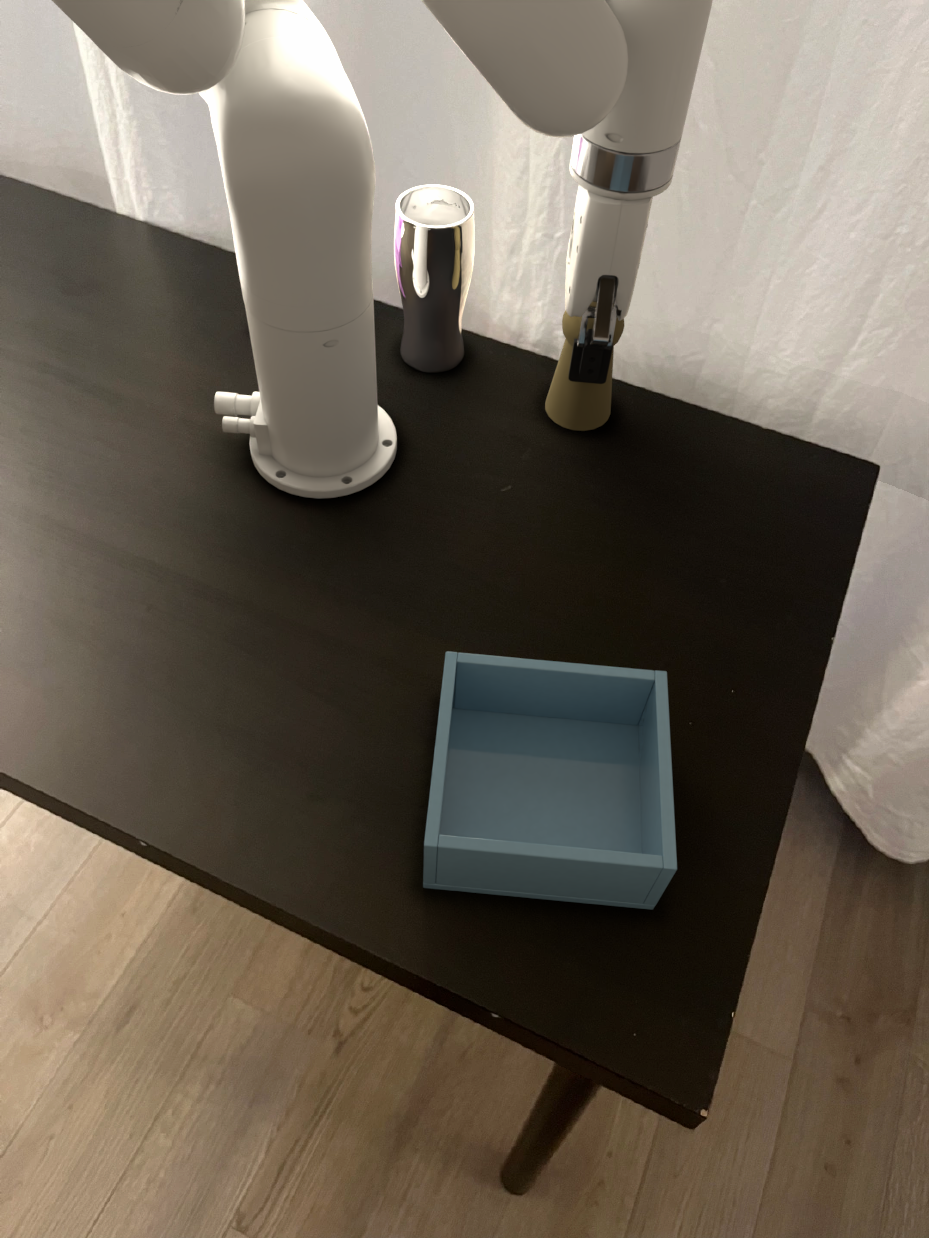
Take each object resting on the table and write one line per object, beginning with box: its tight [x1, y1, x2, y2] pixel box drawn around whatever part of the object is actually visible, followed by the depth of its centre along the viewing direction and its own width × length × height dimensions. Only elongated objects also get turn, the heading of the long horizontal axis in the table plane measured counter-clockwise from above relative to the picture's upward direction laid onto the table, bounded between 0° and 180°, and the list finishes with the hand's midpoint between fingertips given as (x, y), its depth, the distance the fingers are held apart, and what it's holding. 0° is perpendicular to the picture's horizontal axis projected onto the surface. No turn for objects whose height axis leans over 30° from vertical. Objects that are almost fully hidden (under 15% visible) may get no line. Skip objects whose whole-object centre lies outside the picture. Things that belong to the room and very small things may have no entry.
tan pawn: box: [544, 302, 625, 432], centre depth 83 cm, size 6×6×11 cm
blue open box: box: [422, 650, 678, 911], centre depth 61 cm, size 15×14×7 cm
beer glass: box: [393, 184, 476, 374], centre depth 85 cm, size 7×7×15 cm
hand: (587, 356), depth 83 cm, fingers closed on tan pawn, 5 cm apart
